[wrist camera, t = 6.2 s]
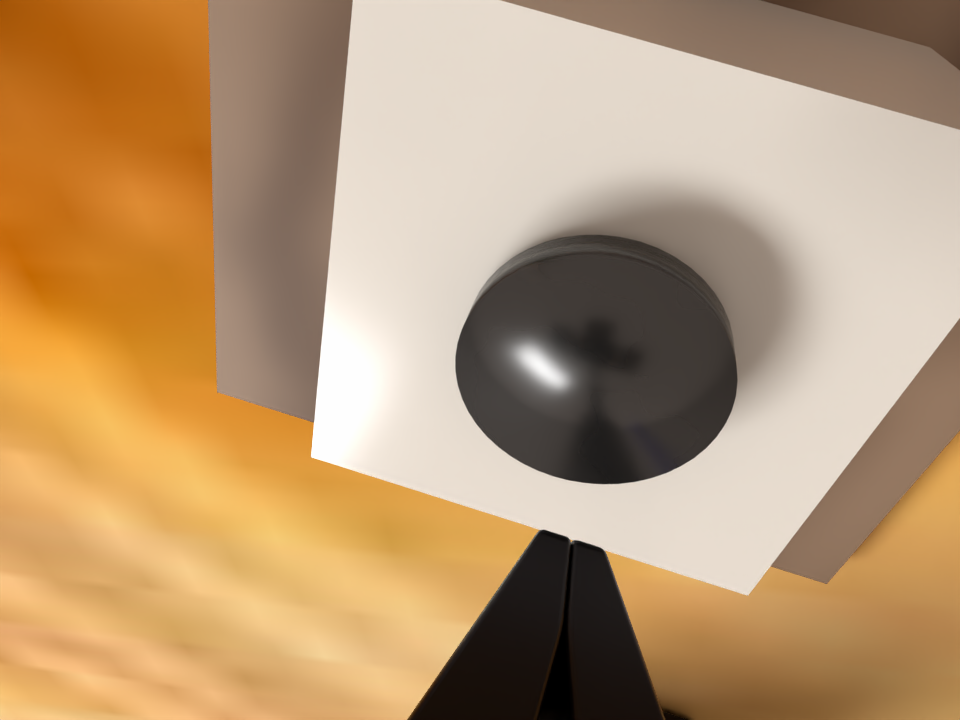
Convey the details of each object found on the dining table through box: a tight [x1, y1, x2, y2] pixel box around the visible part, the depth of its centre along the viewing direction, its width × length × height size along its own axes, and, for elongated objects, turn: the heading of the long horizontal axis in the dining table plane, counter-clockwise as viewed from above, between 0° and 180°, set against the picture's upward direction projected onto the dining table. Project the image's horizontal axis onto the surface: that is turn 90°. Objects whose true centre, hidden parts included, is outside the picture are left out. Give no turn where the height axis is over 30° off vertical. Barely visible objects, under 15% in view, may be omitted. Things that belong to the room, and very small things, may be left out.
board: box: [208, 0, 960, 584], centre depth 18 cm, size 22×22×1 cm
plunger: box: [455, 235, 738, 484], centre depth 15 cm, size 5×5×7 cm
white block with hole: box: [311, 0, 960, 596], centre depth 15 cm, size 10×10×7 cm
